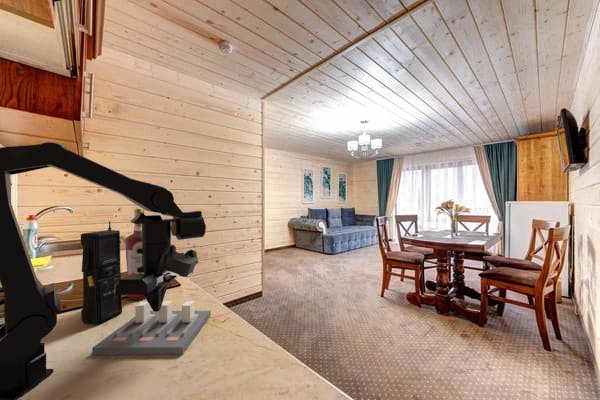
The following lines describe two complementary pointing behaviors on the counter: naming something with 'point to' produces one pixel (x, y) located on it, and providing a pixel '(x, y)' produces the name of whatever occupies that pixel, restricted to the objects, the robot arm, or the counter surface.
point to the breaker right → (188, 311)
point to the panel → (153, 336)
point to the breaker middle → (165, 311)
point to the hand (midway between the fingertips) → (156, 310)
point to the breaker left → (142, 312)
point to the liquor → (134, 252)
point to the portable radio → (100, 276)
